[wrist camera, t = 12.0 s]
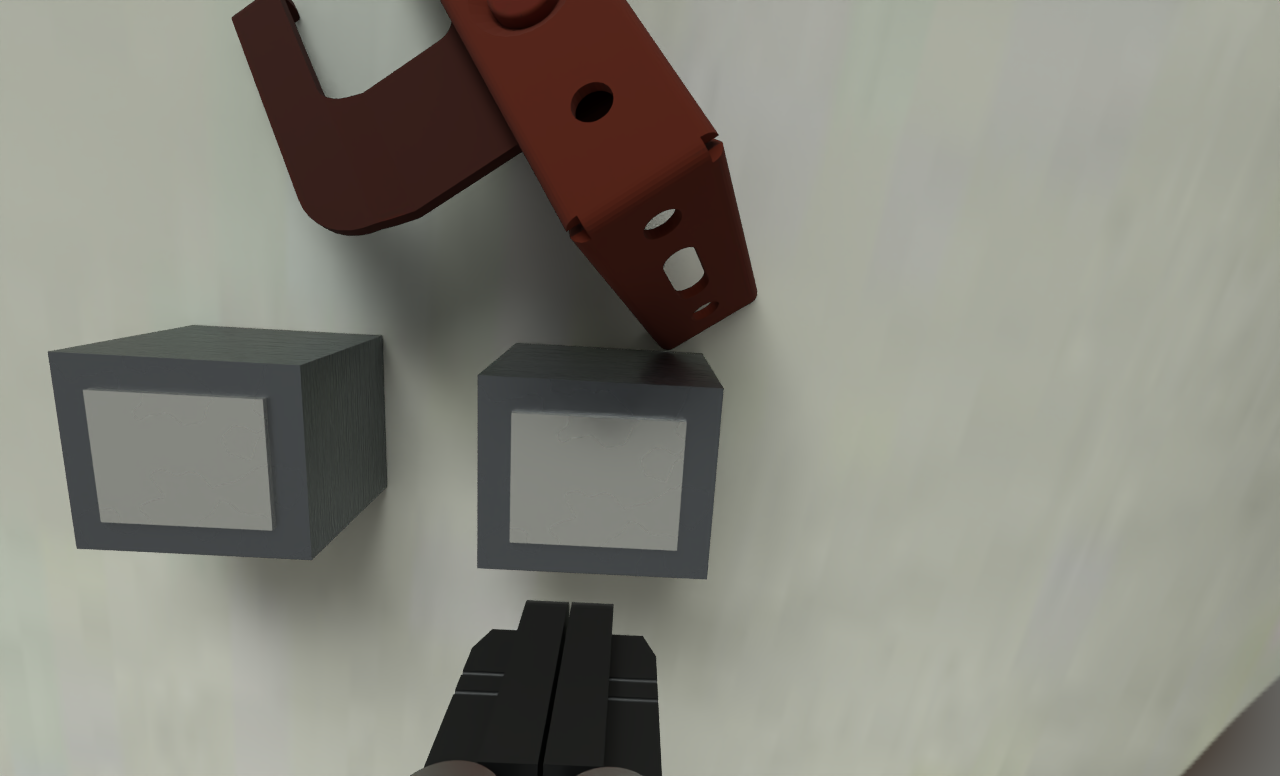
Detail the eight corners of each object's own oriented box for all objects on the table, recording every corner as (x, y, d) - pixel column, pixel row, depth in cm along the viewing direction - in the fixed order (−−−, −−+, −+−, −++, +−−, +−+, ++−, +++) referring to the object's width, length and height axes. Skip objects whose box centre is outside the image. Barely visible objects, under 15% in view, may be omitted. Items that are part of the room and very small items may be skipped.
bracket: (525, 436, 25) (348, 377, 15) (401, 167, 29) (207, -7, 20) (761, 296, 24) (726, 138, 14) (594, 37, 28) (483, -213, 19)
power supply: (382, 335, 24) (296, 366, 18) (386, 492, 25) (308, 570, 19) (192, 325, 24) (41, 352, 18) (208, 483, 25) (71, 559, 19)
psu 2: (702, 353, 24) (724, 390, 18) (689, 507, 25) (706, 589, 19) (516, 342, 24) (476, 376, 18) (514, 498, 25) (476, 578, 19)
